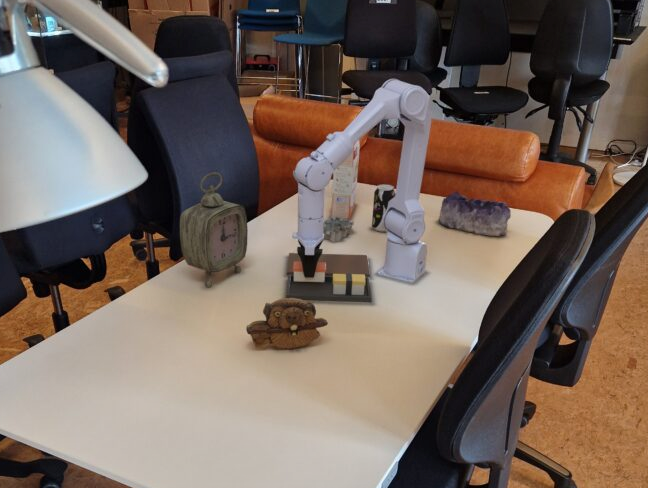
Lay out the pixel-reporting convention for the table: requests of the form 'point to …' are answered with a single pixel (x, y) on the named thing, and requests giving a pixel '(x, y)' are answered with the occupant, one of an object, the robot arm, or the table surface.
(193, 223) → the tabletop clock
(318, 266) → the salmon nigiri
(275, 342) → the wooden carving
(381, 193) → the beverage can
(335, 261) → the serving board
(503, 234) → the geode
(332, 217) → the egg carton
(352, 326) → the table surface
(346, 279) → the tamago nigiri
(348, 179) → the cracker box
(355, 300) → the sushi tray
